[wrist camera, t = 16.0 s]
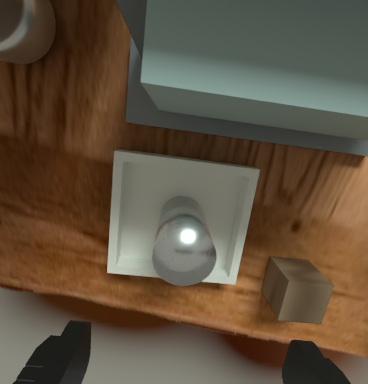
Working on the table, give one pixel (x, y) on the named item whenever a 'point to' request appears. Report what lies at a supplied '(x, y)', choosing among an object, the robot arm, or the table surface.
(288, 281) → the walnut block
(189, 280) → the steel cylinder
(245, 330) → the table surface
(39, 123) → the table surface
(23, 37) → the plastic bottle
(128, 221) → the tray
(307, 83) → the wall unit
